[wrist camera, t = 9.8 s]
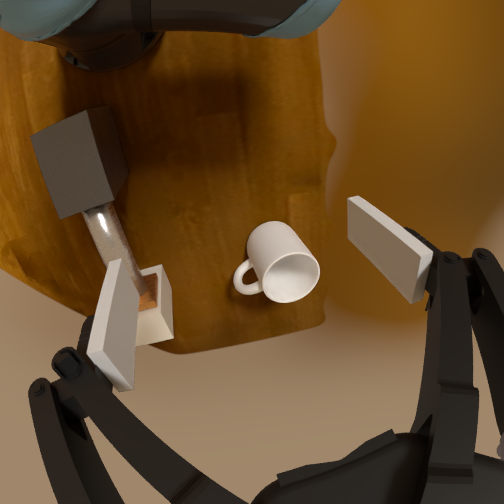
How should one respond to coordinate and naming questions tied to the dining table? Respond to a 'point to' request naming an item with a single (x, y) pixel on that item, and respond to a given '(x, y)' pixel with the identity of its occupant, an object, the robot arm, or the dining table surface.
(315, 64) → the dining table surface
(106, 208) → the tube
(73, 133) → the sleeve
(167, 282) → the socket block
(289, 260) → the mug
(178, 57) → the dining table surface
